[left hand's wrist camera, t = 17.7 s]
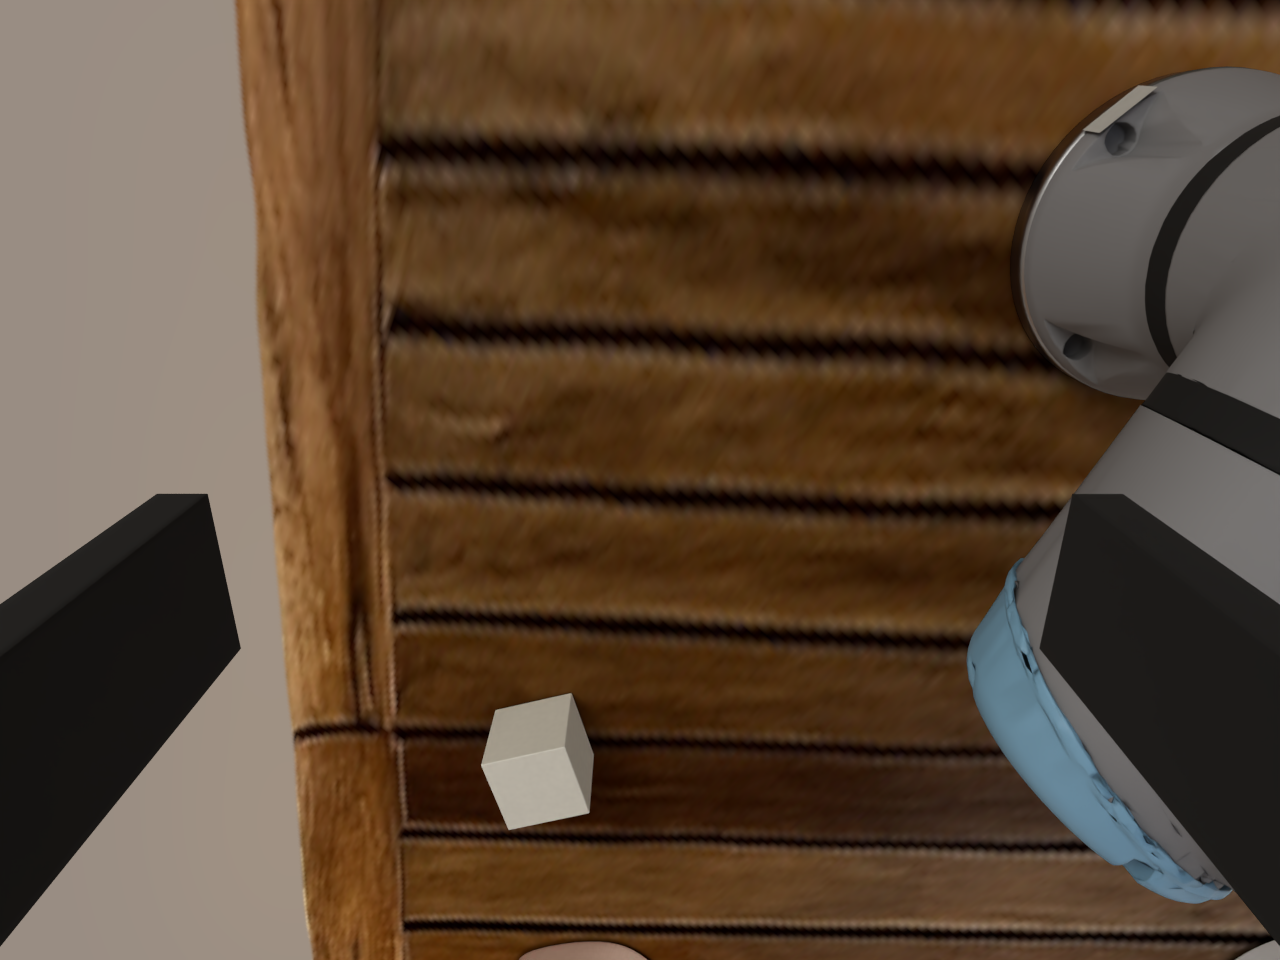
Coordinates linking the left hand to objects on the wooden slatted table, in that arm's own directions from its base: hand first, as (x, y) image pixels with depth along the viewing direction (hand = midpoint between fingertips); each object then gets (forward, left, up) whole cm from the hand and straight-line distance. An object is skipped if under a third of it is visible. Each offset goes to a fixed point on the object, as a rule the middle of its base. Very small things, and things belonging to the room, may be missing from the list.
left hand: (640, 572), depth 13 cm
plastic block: (+6, +28, -31) cm, 42 cm away
